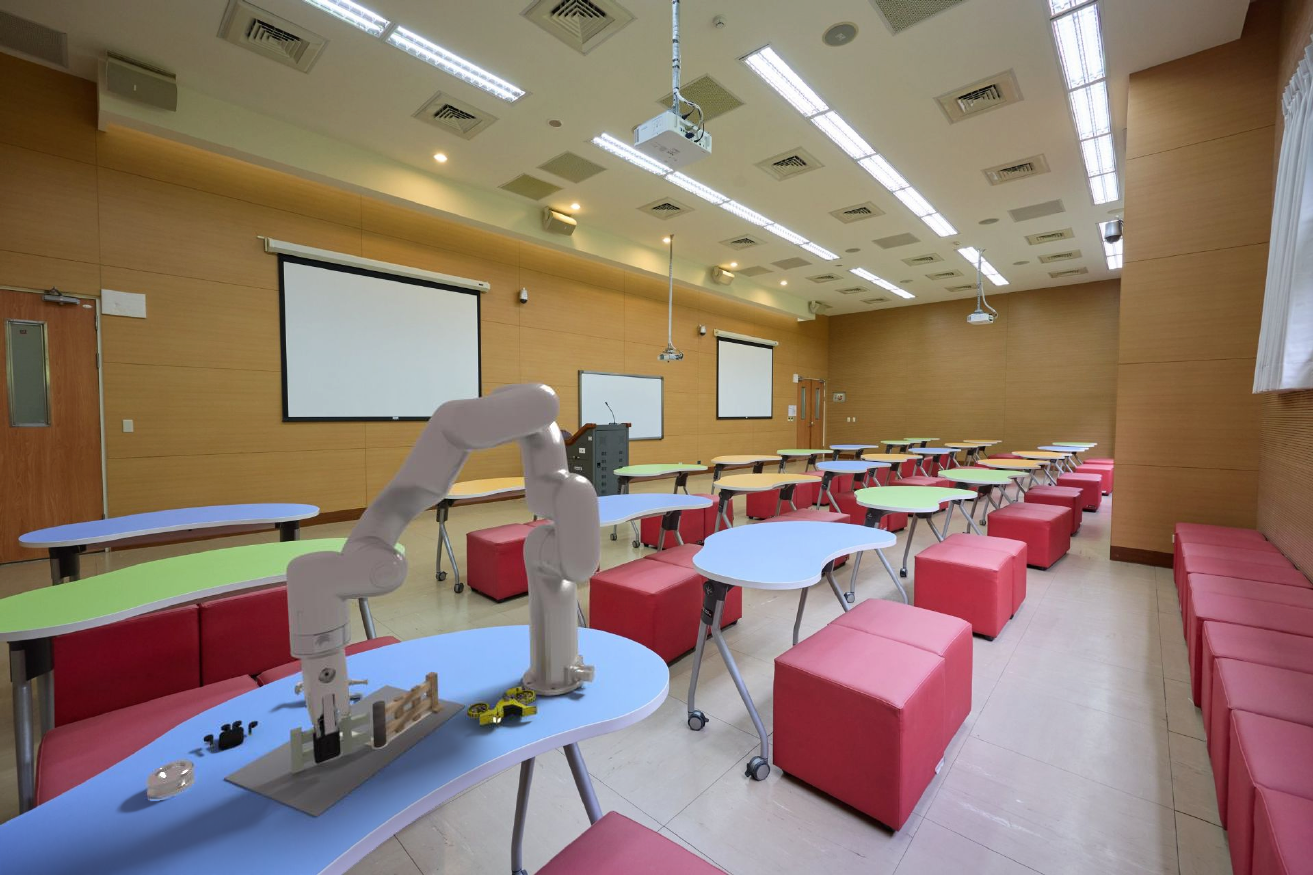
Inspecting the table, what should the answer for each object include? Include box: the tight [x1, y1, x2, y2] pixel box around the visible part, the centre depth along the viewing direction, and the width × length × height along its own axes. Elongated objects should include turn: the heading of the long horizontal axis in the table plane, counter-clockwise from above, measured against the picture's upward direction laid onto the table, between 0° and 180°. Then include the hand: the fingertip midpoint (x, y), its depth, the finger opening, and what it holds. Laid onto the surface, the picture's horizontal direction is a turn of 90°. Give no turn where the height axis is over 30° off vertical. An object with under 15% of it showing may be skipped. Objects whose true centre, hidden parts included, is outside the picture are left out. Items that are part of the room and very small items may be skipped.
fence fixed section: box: [372, 671, 444, 748], centre depth 89 cm, size 13×4×7 cm, turn 158°
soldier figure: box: [294, 678, 370, 699], centre depth 98 cm, size 8×5×12 cm
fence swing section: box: [289, 712, 371, 774], centre depth 80 cm, size 10×1×6 cm, turn 125°
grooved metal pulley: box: [146, 759, 196, 799], centre depth 75 cm, size 5×3×5 cm
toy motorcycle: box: [466, 685, 538, 729], centre depth 92 cm, size 12×4×7 cm
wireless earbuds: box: [203, 720, 259, 751], centre depth 86 cm, size 7×2×5 cm
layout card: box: [223, 684, 467, 818], centre depth 86 cm, size 20×28×1 cm
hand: (327, 756), depth 77 cm, fingers closed
